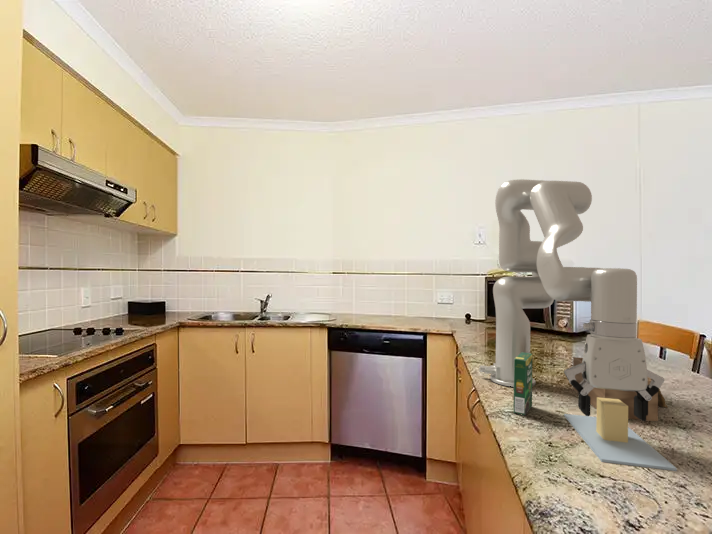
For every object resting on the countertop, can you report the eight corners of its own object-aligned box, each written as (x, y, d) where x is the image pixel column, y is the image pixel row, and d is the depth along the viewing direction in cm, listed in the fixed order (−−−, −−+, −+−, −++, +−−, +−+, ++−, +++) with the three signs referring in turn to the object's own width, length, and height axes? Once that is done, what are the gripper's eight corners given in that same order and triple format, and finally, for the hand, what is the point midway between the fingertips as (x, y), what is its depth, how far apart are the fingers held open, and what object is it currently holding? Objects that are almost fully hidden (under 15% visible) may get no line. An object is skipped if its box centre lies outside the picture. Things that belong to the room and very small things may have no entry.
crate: (604, 416, 85) (605, 377, 85) (572, 388, 105) (573, 357, 105) (657, 421, 83) (658, 381, 83) (614, 392, 103) (615, 359, 103)
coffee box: (525, 417, 84) (526, 359, 84) (512, 414, 86) (513, 357, 86) (533, 406, 91) (533, 353, 91) (520, 404, 92) (521, 351, 93)
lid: (601, 464, 65) (602, 419, 65) (564, 418, 85) (564, 383, 85) (676, 474, 62) (677, 426, 62) (619, 423, 83) (619, 387, 83)
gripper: (571, 330, 72) (570, 418, 72) (675, 335, 68) (674, 428, 68) (559, 325, 79) (558, 405, 79) (652, 329, 76) (651, 413, 75)
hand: (612, 415), depth 74 cm, fingers open, 9 cm apart
